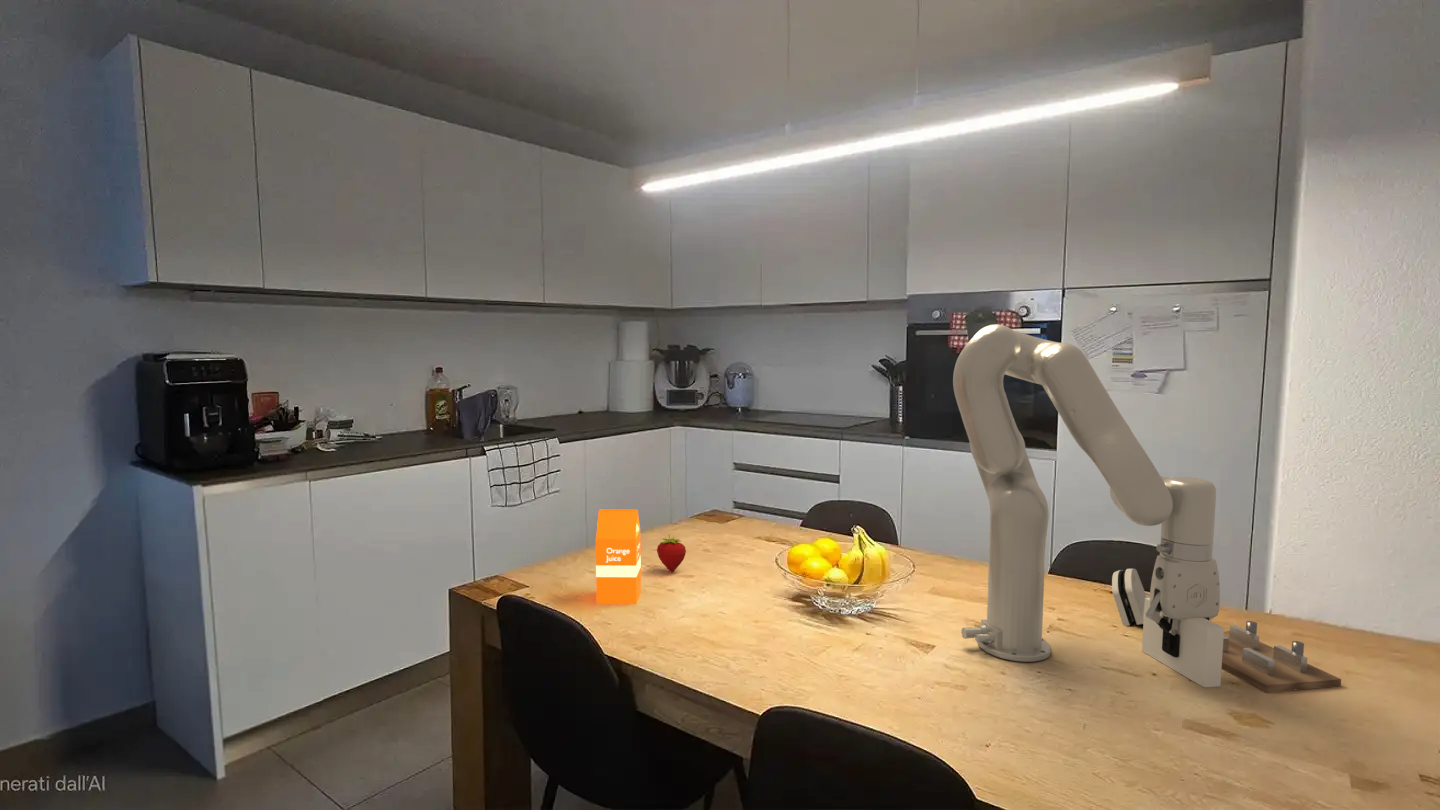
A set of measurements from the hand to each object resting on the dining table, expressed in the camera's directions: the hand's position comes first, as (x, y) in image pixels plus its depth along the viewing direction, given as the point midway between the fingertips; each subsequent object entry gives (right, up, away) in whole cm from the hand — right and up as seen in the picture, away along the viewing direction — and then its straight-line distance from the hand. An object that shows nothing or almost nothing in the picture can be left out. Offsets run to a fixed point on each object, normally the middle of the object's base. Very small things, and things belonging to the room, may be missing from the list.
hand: (1179, 652), depth 124 cm
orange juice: (-102, 0, +35) cm, 108 cm away
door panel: (0, -3, 0) cm, 3 cm away
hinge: (+6, -1, +25) cm, 26 cm away
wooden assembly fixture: (+14, -3, +2) cm, 14 cm away
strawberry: (-92, +1, +53) cm, 106 cm away
